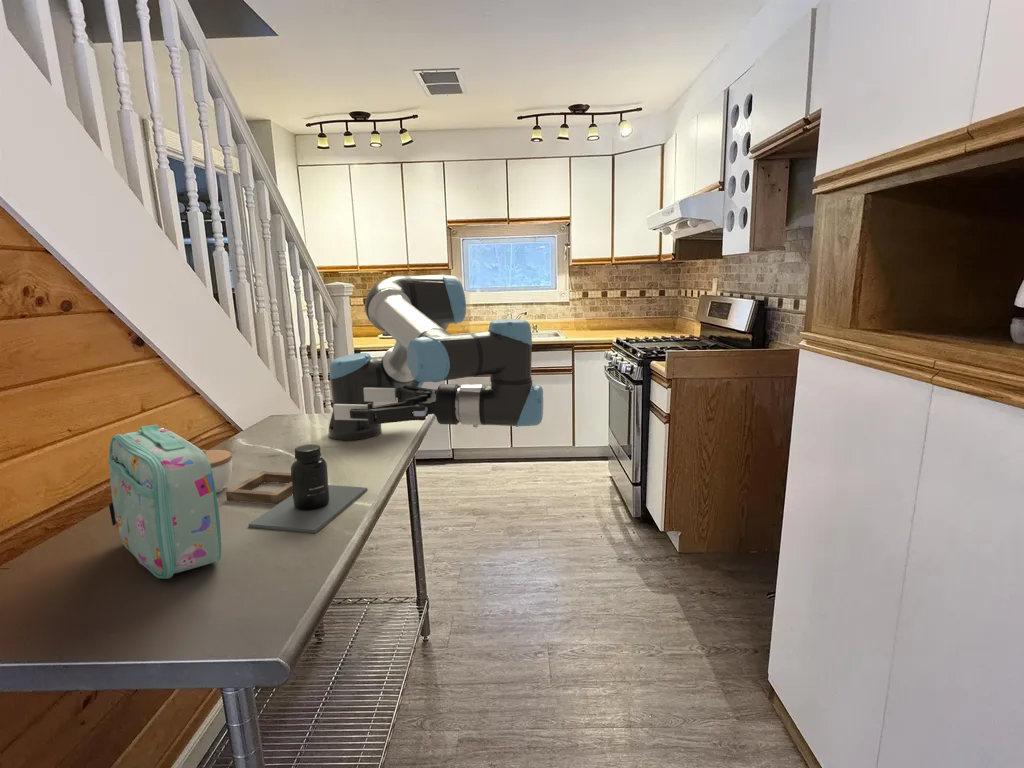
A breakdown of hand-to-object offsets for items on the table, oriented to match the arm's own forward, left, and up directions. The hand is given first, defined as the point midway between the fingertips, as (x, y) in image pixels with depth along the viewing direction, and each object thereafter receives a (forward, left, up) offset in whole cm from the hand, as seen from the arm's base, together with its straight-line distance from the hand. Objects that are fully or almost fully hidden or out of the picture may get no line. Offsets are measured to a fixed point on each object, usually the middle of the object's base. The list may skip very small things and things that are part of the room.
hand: (350, 402), depth 102 cm
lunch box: (+21, -24, -22) cm, 39 cm away
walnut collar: (-6, -24, -22) cm, 33 cm away
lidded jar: (-4, -38, -22) cm, 44 cm away
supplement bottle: (0, -10, -22) cm, 24 cm away
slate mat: (0, -10, -22) cm, 24 cm away
